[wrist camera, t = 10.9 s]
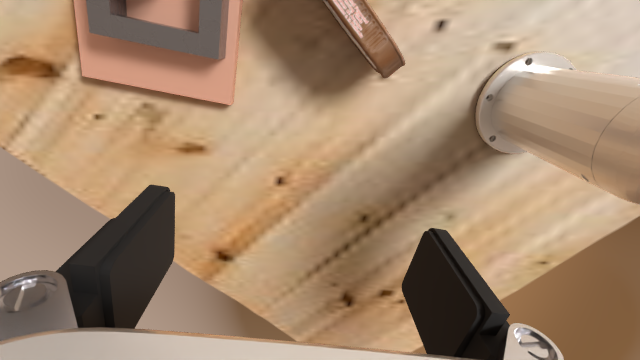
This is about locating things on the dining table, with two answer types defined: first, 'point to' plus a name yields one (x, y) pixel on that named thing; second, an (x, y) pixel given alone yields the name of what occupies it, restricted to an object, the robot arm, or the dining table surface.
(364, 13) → the tin
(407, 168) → the dining table surface
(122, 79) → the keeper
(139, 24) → the grey square frame
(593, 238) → the dining table surface
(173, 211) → the robot arm
